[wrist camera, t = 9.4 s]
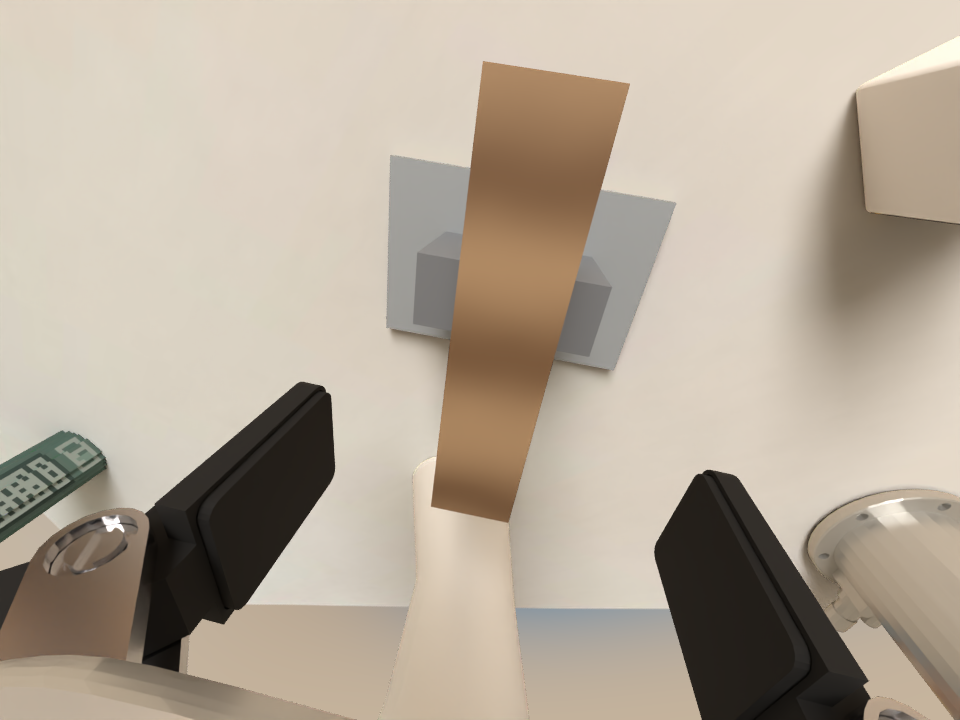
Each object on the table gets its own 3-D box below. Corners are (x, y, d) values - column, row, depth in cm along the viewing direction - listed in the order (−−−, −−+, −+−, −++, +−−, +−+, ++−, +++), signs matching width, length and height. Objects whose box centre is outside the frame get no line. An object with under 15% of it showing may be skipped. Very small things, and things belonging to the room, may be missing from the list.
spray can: (501, 436, 34) (443, 940, 12) (543, 513, 38) (558, 997, 16) (398, 466, 37) (204, 896, 15) (446, 534, 41) (348, 952, 19)
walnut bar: (513, 443, 24) (508, 522, 18) (453, 431, 24) (430, 506, 19) (595, 113, 15) (630, 83, 10) (500, 98, 15) (482, 61, 10)
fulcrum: (611, 364, 29) (636, 427, 22) (390, 322, 30) (346, 371, 23) (671, 201, 23) (731, 216, 16) (395, 155, 24) (338, 150, 17)
